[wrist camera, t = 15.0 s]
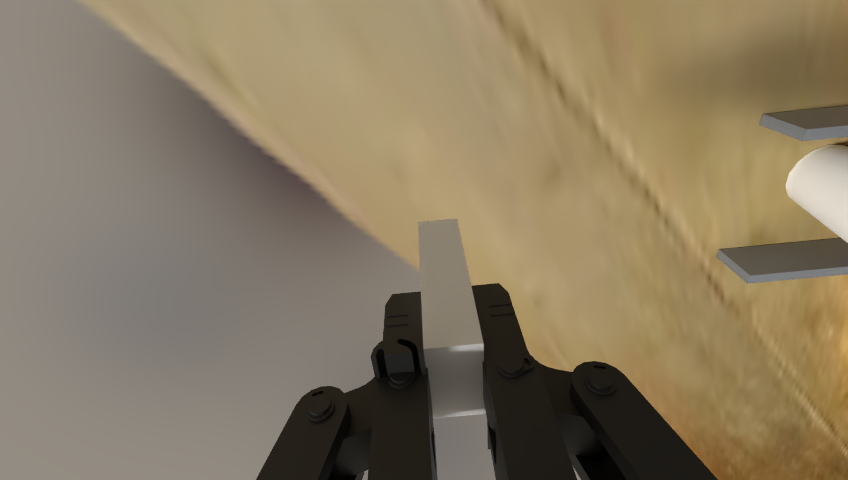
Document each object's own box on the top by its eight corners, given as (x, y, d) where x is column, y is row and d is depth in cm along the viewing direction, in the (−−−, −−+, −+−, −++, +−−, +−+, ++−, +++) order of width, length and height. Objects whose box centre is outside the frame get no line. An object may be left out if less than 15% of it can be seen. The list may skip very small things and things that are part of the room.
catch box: (762, 113, 39) (814, 132, 34) (937, 96, 38) (1016, 112, 34) (716, 256, 47) (752, 288, 42) (860, 243, 47) (913, 273, 42)
